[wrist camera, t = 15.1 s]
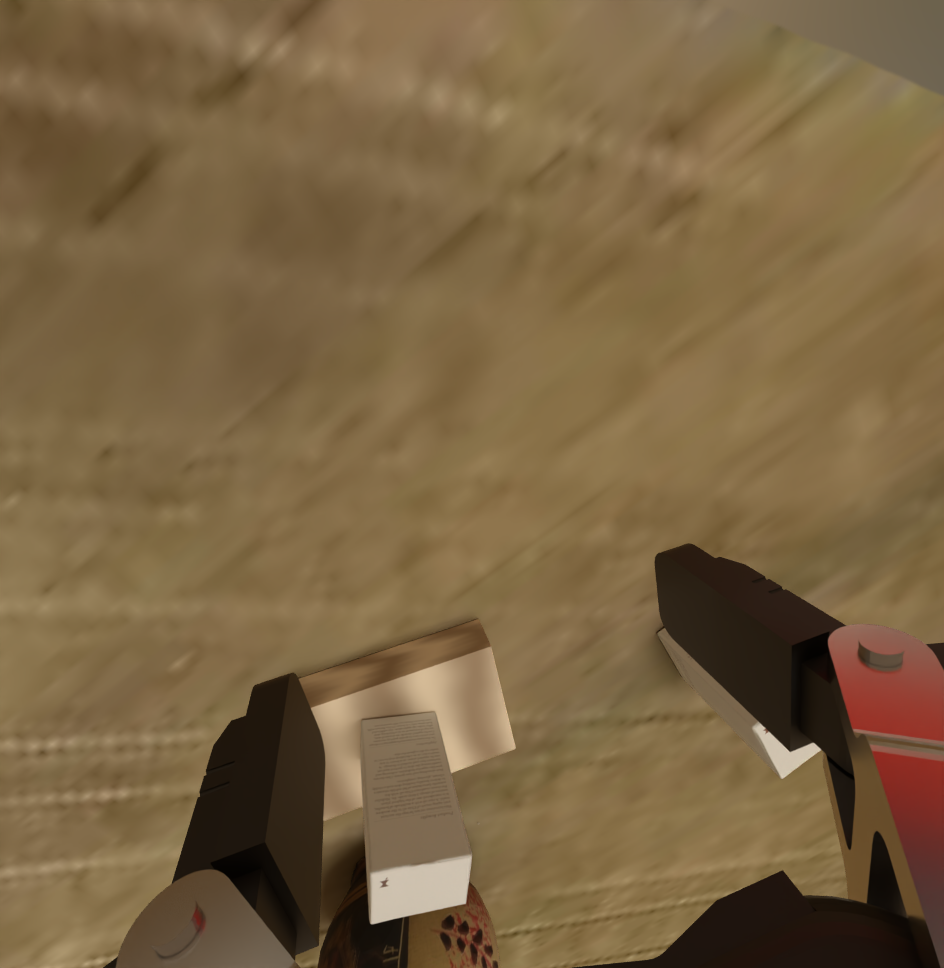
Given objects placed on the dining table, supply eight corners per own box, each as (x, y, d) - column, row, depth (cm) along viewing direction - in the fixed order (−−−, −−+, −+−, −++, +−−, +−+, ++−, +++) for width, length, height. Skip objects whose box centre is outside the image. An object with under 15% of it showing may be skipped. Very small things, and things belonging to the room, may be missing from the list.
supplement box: (681, 679, 52) (779, 783, 40) (654, 631, 49) (751, 728, 37) (740, 638, 52) (855, 730, 40) (716, 588, 49) (832, 671, 38)
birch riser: (310, 785, 45) (307, 827, 41) (267, 688, 41) (260, 725, 37) (502, 715, 48) (515, 748, 44) (478, 618, 44) (491, 646, 40)
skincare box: (359, 762, 41) (366, 927, 29) (360, 717, 39) (367, 873, 28) (434, 752, 42) (468, 906, 31) (438, 709, 41) (473, 854, 30)
